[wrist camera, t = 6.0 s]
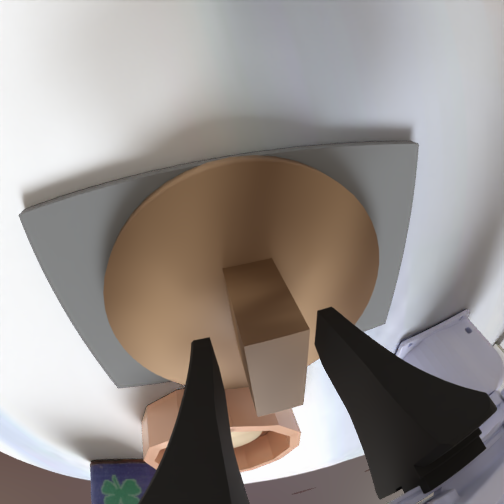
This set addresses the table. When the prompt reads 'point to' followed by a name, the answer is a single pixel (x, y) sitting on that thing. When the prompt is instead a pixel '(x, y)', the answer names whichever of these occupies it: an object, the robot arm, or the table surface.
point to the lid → (240, 272)
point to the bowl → (241, 425)
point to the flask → (119, 480)
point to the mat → (142, 185)
